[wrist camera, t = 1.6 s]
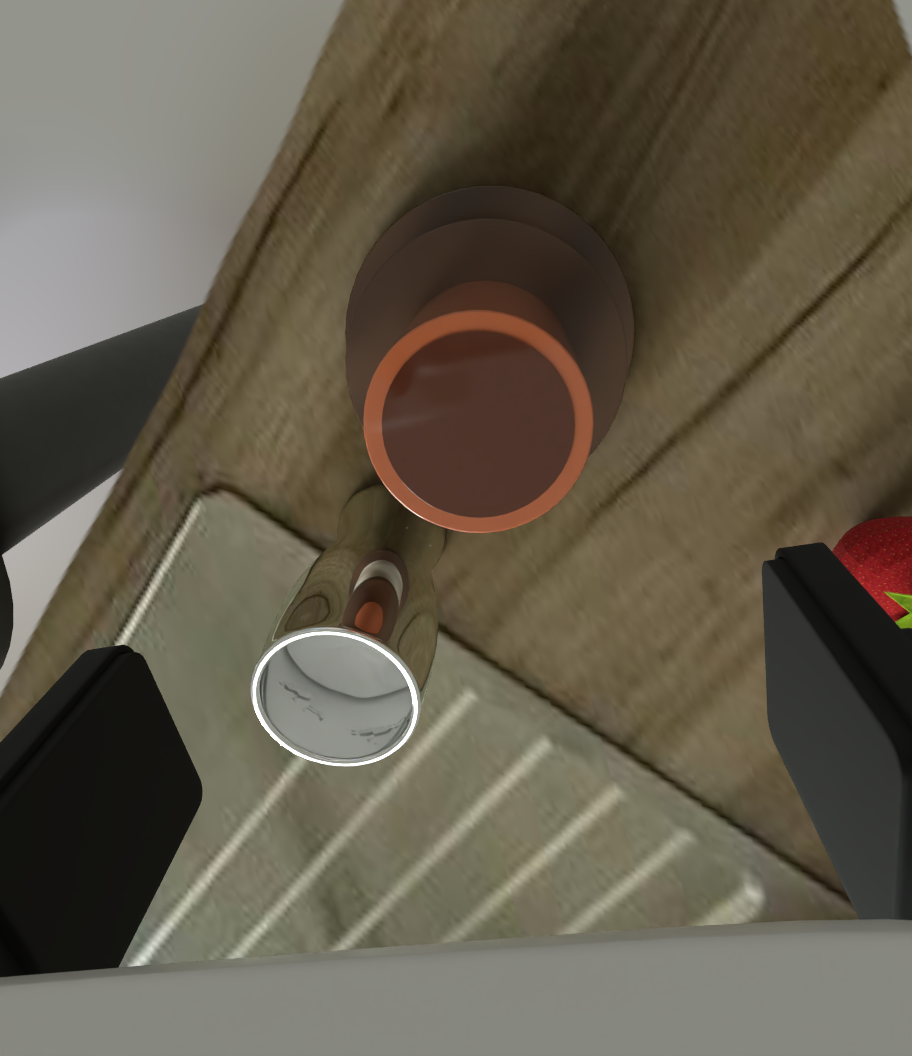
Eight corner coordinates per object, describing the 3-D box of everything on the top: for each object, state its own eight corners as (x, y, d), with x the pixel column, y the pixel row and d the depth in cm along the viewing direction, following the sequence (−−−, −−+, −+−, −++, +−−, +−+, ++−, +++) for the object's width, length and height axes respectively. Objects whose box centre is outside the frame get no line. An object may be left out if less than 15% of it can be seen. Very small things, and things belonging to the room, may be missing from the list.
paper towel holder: (295, 350, 37) (251, 383, 31) (478, 113, 32) (471, 93, 26) (496, 520, 40) (494, 582, 34) (691, 329, 35) (731, 359, 29)
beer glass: (422, 603, 43) (382, 795, 29) (313, 555, 42) (220, 729, 28) (474, 508, 40) (457, 671, 26) (359, 453, 39) (280, 593, 25)
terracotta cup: (362, 377, 30) (316, 436, 23) (478, 239, 28) (467, 255, 20) (489, 486, 32) (485, 574, 25) (609, 365, 29) (643, 422, 22)
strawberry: (915, 586, 40) (1034, 701, 31) (779, 573, 40) (857, 684, 31) (954, 488, 38) (1095, 582, 29) (808, 475, 38) (903, 564, 29)
